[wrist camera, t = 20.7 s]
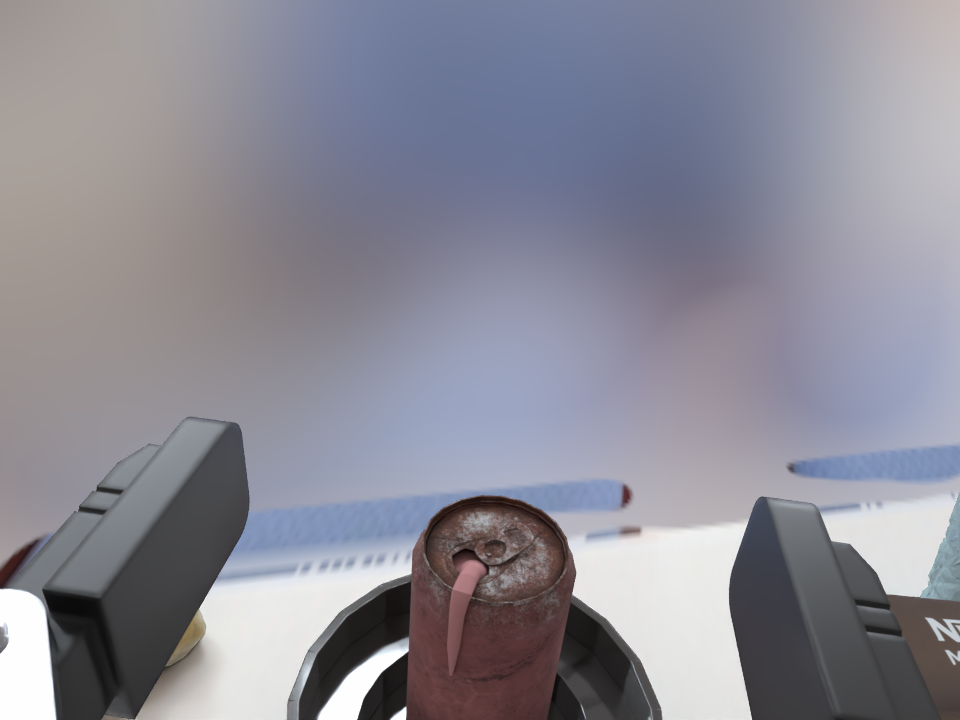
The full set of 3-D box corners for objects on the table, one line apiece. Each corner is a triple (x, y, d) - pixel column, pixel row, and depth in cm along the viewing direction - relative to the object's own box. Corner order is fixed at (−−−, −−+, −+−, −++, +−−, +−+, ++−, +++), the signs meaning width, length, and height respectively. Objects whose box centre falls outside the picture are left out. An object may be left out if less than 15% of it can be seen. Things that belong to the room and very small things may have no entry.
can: (380, 814, 32) (383, 586, 25) (429, 689, 37) (443, 472, 30) (516, 862, 30) (560, 636, 23) (547, 726, 36) (591, 509, 29)
